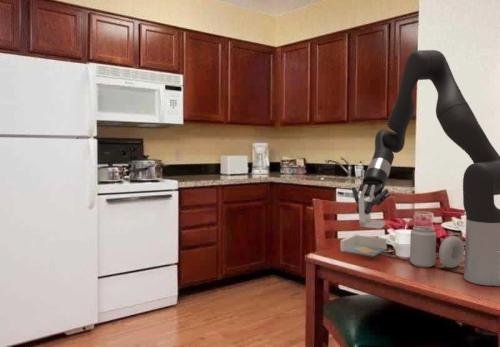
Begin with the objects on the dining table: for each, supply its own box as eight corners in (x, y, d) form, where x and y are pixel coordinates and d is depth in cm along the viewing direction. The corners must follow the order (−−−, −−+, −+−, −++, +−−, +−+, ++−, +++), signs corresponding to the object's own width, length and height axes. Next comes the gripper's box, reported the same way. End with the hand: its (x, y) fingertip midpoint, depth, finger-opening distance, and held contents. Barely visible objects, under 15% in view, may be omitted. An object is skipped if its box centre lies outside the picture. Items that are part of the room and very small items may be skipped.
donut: (446, 271, 127) (447, 239, 126) (435, 269, 130) (436, 236, 129) (465, 266, 132) (467, 235, 131) (455, 264, 135) (456, 233, 134)
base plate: (385, 250, 152) (385, 248, 152) (373, 256, 144) (373, 255, 144) (356, 245, 159) (356, 244, 159) (343, 251, 150) (343, 250, 150)
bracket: (385, 225, 140) (384, 197, 138) (379, 228, 136) (379, 200, 135) (365, 222, 144) (364, 195, 143) (359, 226, 141) (358, 198, 139)
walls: (386, 249, 153) (386, 238, 153) (373, 256, 144) (373, 245, 143) (354, 244, 161) (355, 234, 160) (340, 251, 151) (340, 240, 151)
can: (437, 268, 130) (438, 230, 129) (412, 267, 131) (412, 229, 130) (432, 262, 137) (433, 225, 136) (408, 260, 139) (408, 224, 138)
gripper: (355, 166, 151) (339, 204, 142) (394, 167, 142) (379, 207, 133) (361, 180, 155) (346, 217, 146) (399, 181, 146) (385, 221, 138)
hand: (362, 212), depth 140 cm, fingers closed on bracket, 2 cm apart
